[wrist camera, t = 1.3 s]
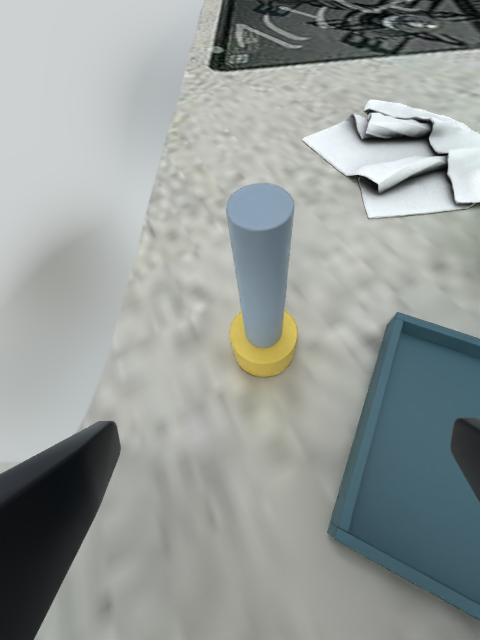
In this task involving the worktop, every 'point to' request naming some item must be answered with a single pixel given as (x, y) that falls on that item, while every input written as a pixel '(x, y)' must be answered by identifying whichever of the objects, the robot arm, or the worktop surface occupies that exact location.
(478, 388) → the tray
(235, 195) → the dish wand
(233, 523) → the worktop surface
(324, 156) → the cloth
